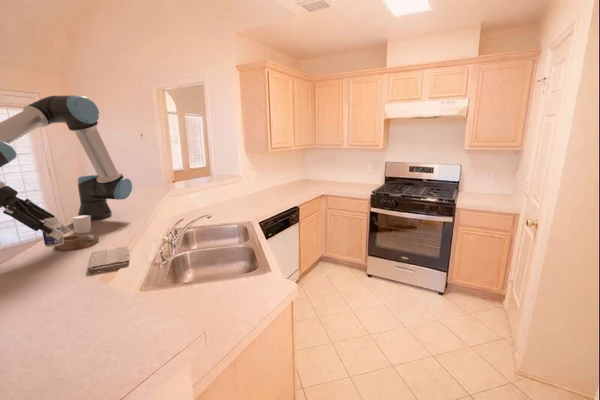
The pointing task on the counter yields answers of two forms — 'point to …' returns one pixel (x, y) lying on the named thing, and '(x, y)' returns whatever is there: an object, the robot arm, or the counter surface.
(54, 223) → the pill bottle
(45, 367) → the counter surface
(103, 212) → the robot arm
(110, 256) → the washcloth
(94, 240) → the fire pit
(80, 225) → the white cup
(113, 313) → the counter surface
